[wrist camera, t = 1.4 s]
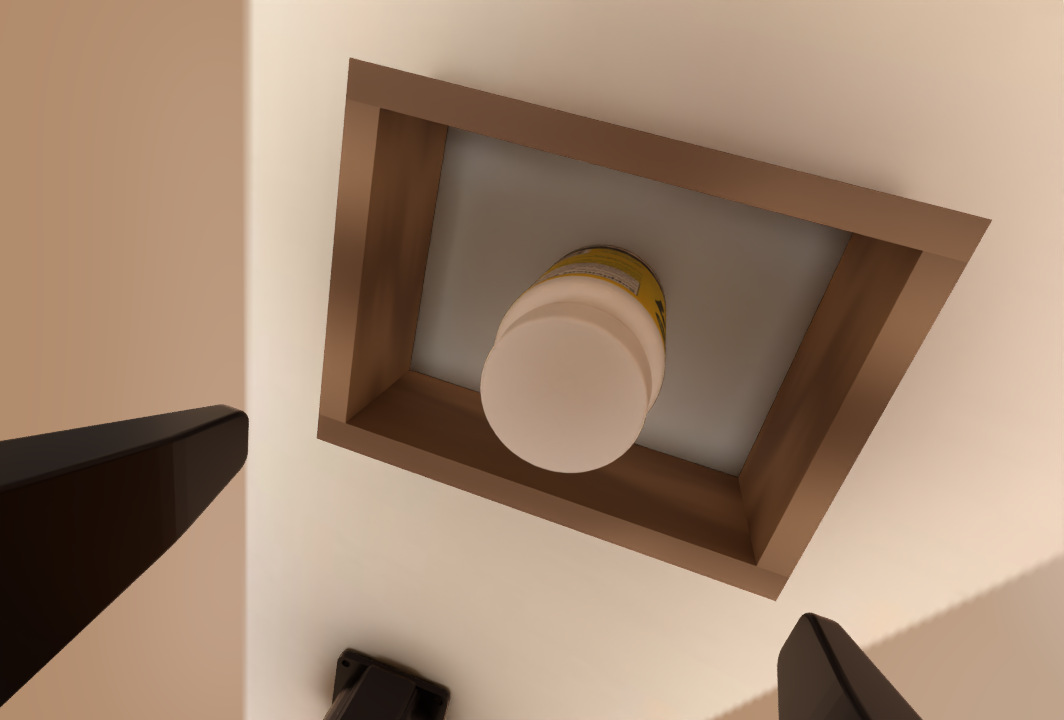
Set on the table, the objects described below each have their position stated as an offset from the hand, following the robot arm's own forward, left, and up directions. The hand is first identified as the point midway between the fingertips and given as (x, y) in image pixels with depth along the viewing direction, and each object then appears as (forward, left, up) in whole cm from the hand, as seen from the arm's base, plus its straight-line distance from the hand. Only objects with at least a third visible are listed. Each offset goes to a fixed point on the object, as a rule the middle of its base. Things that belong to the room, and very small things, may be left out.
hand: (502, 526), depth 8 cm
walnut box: (0, 0, -13) cm, 13 cm away
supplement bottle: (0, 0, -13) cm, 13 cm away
